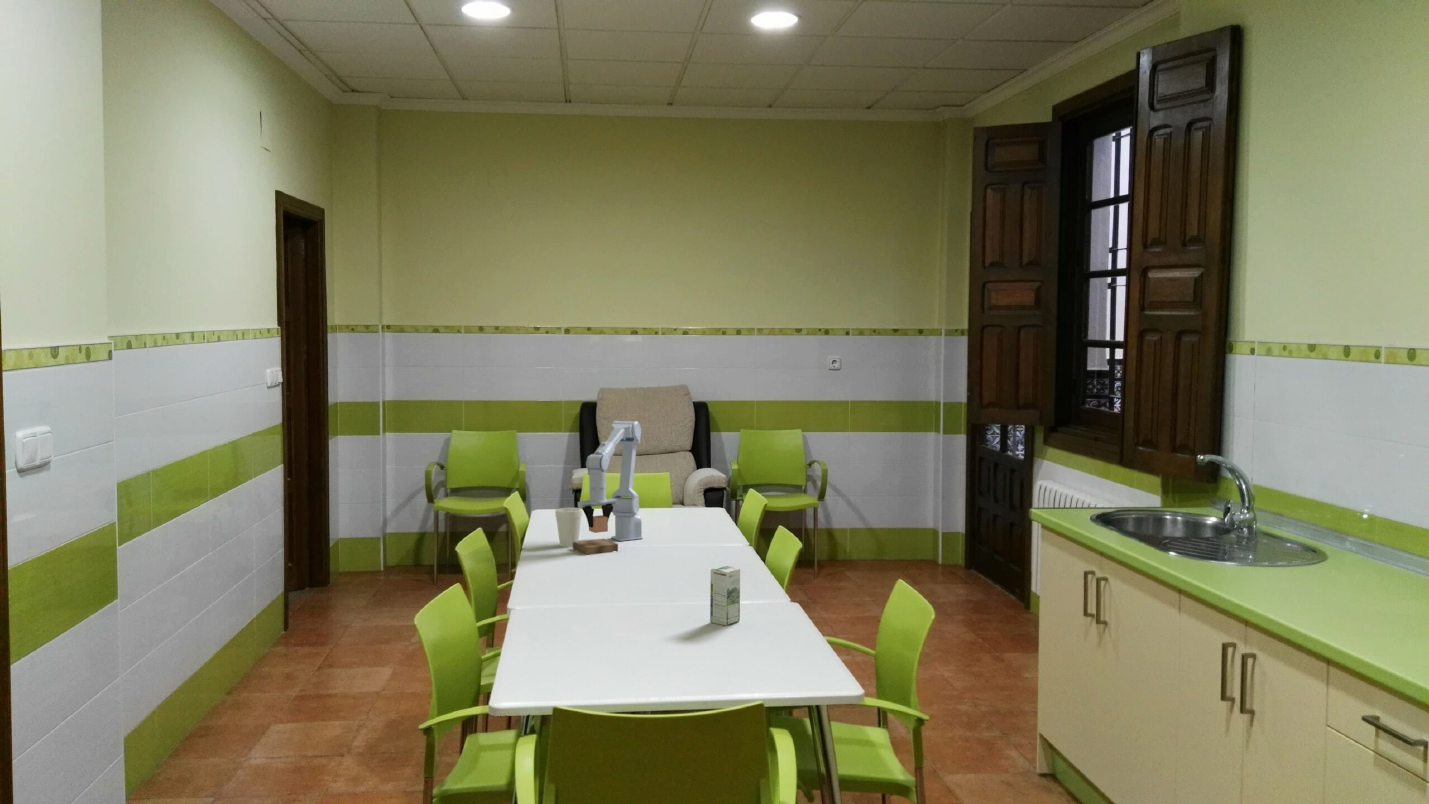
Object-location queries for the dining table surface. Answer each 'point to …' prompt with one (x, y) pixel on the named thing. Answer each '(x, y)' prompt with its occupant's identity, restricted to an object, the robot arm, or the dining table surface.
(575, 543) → the walnut plinth
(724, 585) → the syrup box
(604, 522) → the terracotta block
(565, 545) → the foam cup
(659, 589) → the dining table surface
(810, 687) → the dining table surface
